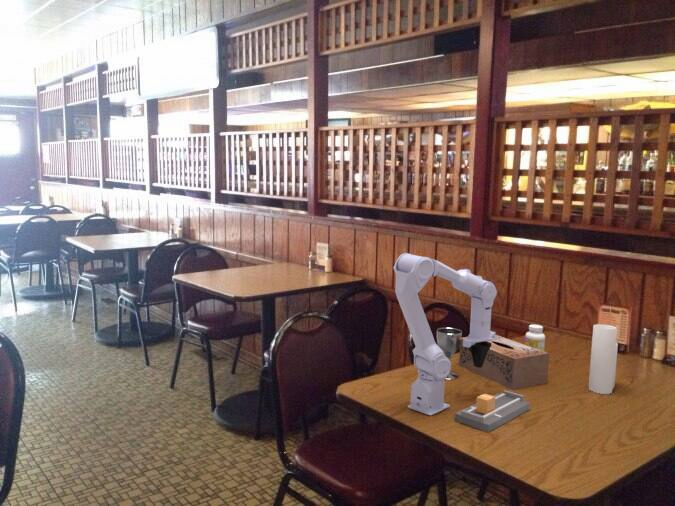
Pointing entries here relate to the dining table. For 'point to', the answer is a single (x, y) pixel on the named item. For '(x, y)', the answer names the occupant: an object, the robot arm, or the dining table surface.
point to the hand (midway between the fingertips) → (478, 366)
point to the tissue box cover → (509, 363)
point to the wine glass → (449, 344)
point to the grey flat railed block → (494, 412)
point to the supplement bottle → (535, 337)
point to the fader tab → (485, 403)
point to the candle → (603, 359)
